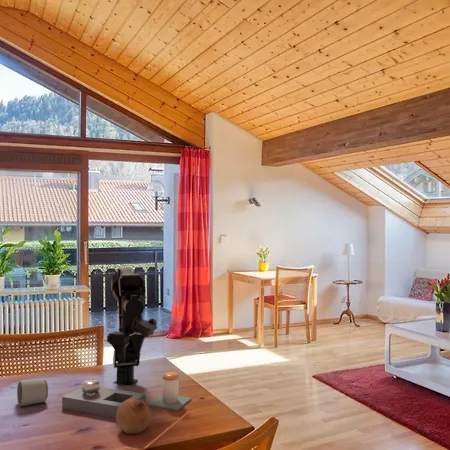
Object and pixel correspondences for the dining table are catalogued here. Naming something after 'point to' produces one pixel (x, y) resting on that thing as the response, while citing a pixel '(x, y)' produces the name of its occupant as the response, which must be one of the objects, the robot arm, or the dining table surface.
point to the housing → (99, 401)
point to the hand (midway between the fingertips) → (130, 358)
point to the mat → (174, 406)
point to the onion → (133, 416)
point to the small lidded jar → (170, 387)
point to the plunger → (90, 387)
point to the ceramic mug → (32, 391)
